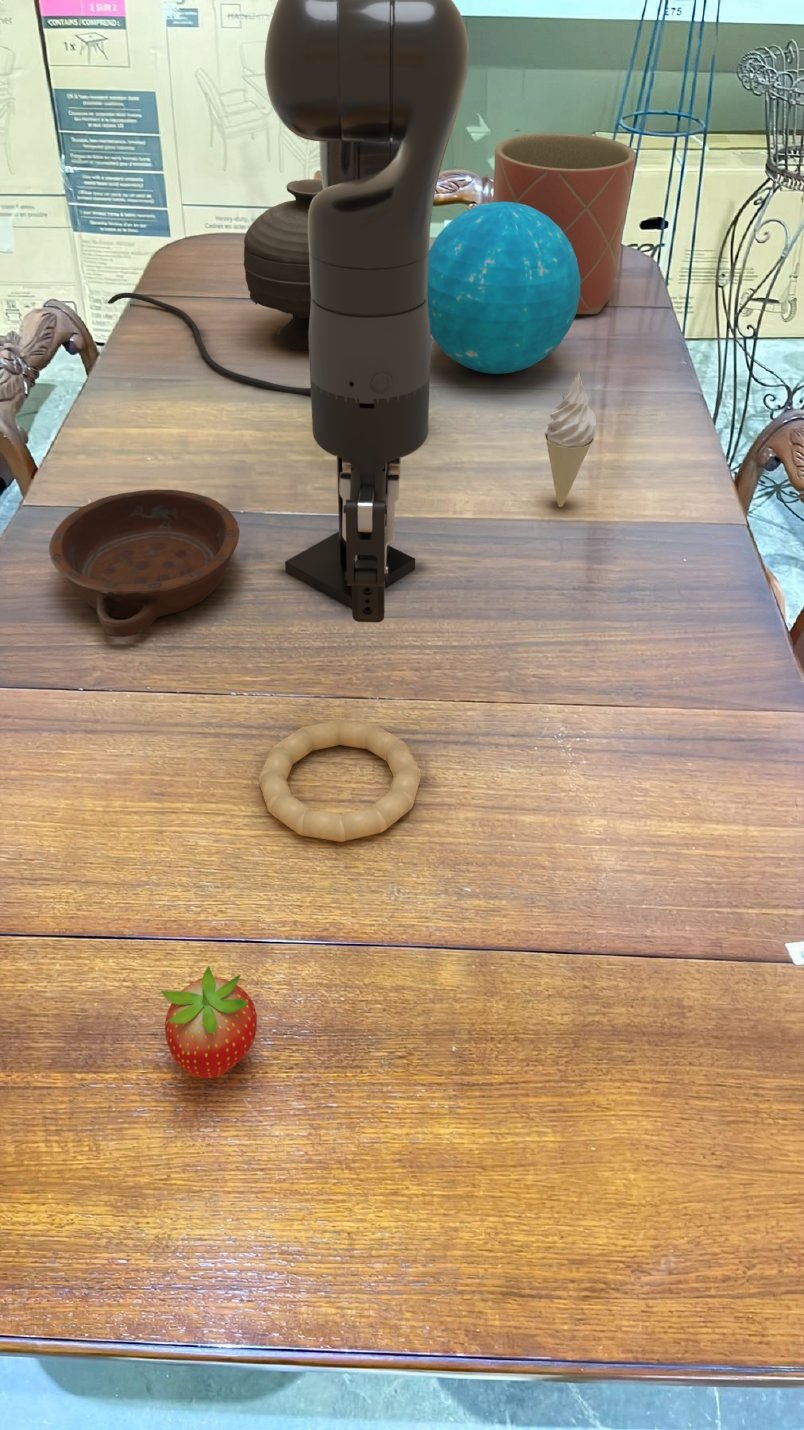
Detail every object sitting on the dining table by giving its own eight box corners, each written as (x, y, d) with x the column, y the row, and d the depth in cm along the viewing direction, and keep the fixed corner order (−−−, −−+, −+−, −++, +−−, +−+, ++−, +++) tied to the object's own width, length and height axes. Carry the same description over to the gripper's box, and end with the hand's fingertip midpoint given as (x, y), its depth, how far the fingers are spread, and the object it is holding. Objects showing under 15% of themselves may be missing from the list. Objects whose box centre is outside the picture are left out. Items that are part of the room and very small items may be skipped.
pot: (410, 323, 150) (401, 170, 136) (337, 379, 140) (319, 221, 126) (306, 299, 158) (288, 152, 143) (230, 351, 147) (202, 199, 133)
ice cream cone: (582, 520, 113) (602, 384, 103) (534, 515, 114) (548, 379, 104) (586, 497, 117) (605, 362, 107) (539, 491, 117) (554, 358, 107)
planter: (623, 324, 153) (646, 171, 139) (488, 321, 153) (498, 169, 140) (606, 275, 167) (625, 133, 154) (483, 274, 167) (491, 131, 154)
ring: (229, 790, 83) (227, 771, 81) (339, 714, 89) (338, 695, 88) (342, 871, 77) (341, 853, 75) (450, 783, 84) (451, 764, 82)
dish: (254, 519, 112) (250, 476, 109) (229, 650, 96) (224, 604, 92) (86, 518, 112) (77, 474, 109) (32, 648, 96) (19, 602, 92)
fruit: (197, 1017, 68) (181, 939, 62) (274, 1038, 67) (264, 961, 61) (158, 1092, 64) (138, 1016, 59) (239, 1117, 63) (226, 1041, 58)
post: (285, 571, 105) (274, 427, 95) (349, 535, 110) (345, 394, 100) (352, 608, 101) (348, 461, 91) (415, 568, 106) (418, 425, 96)
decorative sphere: (593, 392, 136) (616, 226, 123) (441, 408, 132) (447, 238, 119) (540, 331, 150) (555, 176, 137) (401, 343, 147) (403, 185, 133)
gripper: (319, 324, 73) (327, 532, 84) (298, 417, 62) (310, 642, 73) (430, 326, 73) (424, 534, 83) (428, 421, 62) (421, 645, 73)
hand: (371, 584), depth 78 cm, fingers open, 8 cm apart
